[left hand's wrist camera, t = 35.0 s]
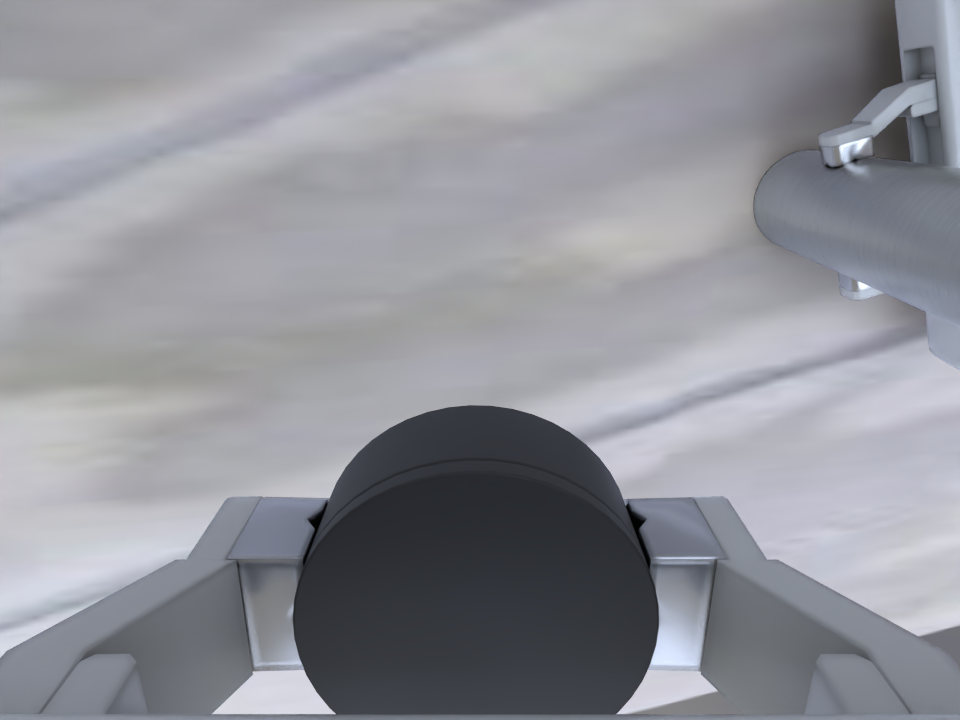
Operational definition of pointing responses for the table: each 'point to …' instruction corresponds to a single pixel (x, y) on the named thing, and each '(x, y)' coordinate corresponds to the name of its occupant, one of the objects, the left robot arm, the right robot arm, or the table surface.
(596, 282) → the table surface
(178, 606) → the left robot arm
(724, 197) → the table surface
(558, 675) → the cap
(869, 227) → the bottle
